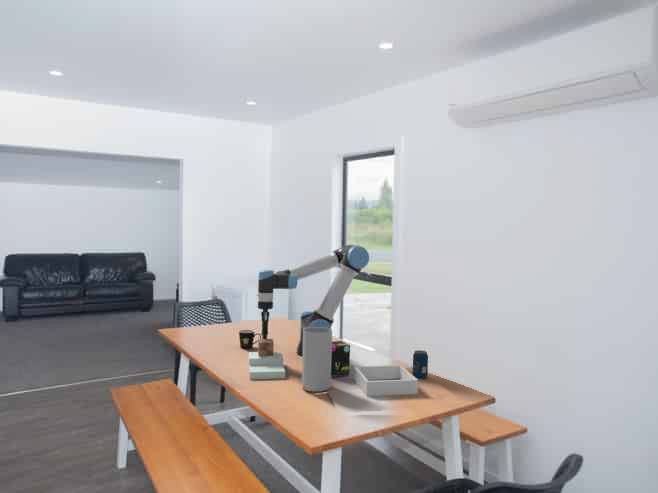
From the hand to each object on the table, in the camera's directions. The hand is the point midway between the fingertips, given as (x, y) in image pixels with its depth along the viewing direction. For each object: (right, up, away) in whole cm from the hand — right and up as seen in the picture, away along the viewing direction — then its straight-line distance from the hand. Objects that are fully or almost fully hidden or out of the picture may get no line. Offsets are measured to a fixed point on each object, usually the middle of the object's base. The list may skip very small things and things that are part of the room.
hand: (264, 347), depth 242 cm
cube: (+2, -2, -8) cm, 9 cm away
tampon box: (+35, -10, -15) cm, 40 cm away
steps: (+3, -9, -14) cm, 17 cm away
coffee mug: (-12, -7, +27) cm, 30 cm away
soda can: (+75, -11, -16) cm, 78 cm away
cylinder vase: (+27, -10, -35) cm, 45 cm away
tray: (+57, -11, -31) cm, 66 cm away
